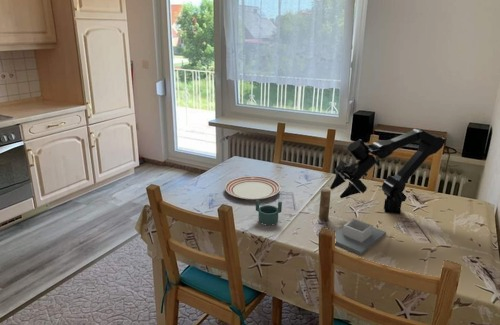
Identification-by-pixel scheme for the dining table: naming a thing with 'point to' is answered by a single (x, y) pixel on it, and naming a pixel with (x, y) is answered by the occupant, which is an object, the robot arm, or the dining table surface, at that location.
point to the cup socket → (358, 236)
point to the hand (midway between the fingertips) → (335, 193)
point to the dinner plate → (252, 187)
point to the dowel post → (324, 204)
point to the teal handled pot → (268, 213)
